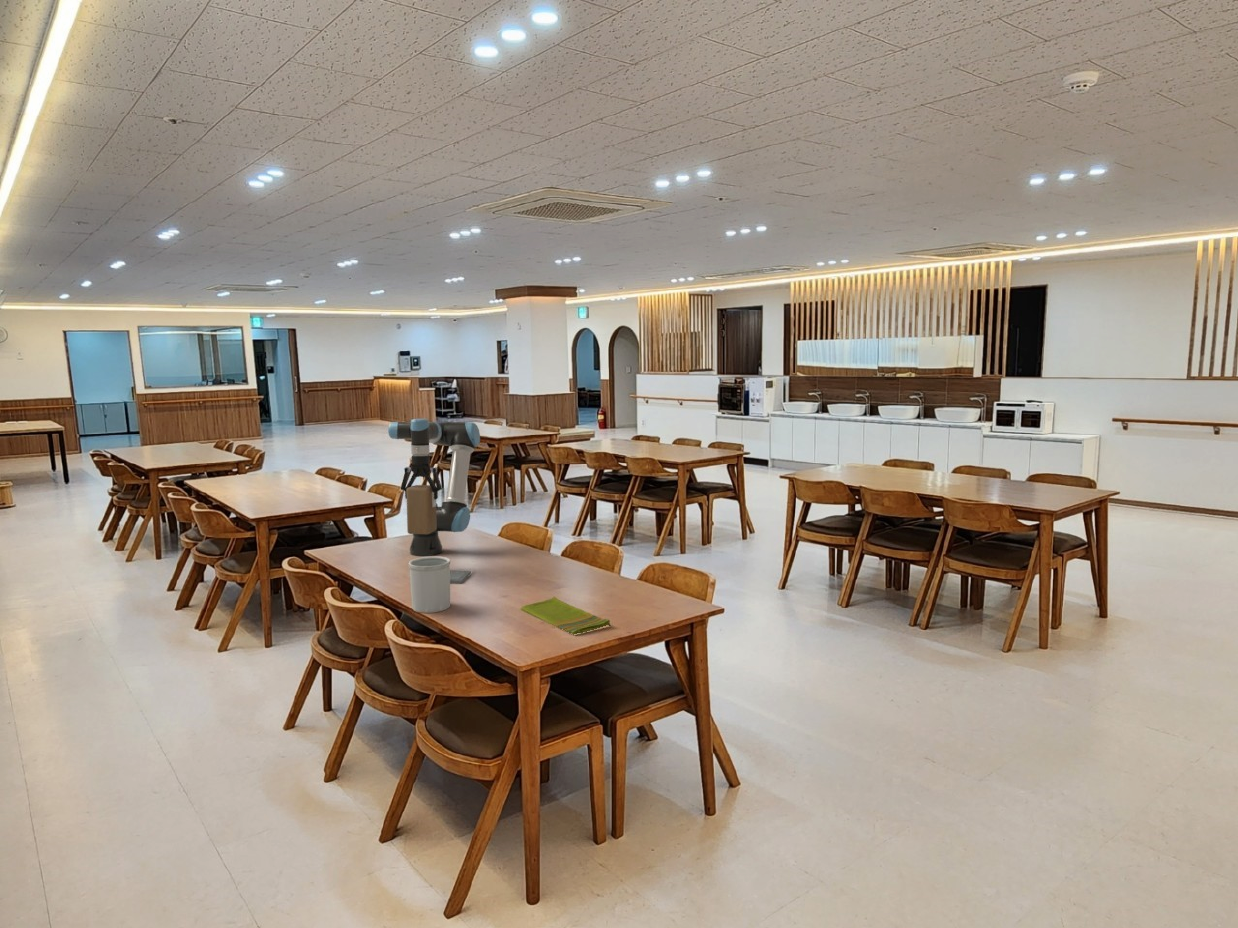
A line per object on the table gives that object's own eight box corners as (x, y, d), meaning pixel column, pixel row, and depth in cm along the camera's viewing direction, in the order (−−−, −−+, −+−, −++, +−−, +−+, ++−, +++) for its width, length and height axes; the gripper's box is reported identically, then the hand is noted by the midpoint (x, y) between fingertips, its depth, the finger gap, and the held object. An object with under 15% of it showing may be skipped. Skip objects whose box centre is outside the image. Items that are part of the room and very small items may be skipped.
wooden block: (437, 530, 345) (436, 485, 343) (429, 534, 335) (428, 488, 333) (415, 529, 346) (414, 484, 344) (406, 534, 336) (405, 487, 334)
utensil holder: (430, 616, 281) (429, 568, 279) (401, 609, 289) (399, 562, 286) (459, 605, 293) (458, 559, 291) (431, 599, 301) (429, 554, 299)
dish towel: (574, 637, 260) (574, 628, 259) (519, 611, 288) (519, 602, 288) (611, 628, 269) (611, 619, 269) (555, 603, 297) (555, 595, 297)
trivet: (434, 572, 339) (434, 569, 339) (471, 573, 338) (471, 570, 338) (423, 582, 323) (422, 579, 323) (461, 583, 322) (461, 580, 322)
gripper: (391, 455, 334) (392, 507, 337) (443, 456, 332) (444, 508, 335) (398, 453, 342) (399, 504, 344) (449, 454, 340) (450, 505, 342)
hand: (421, 506), depth 339 cm, fingers closed on wooden block, 10 cm apart
